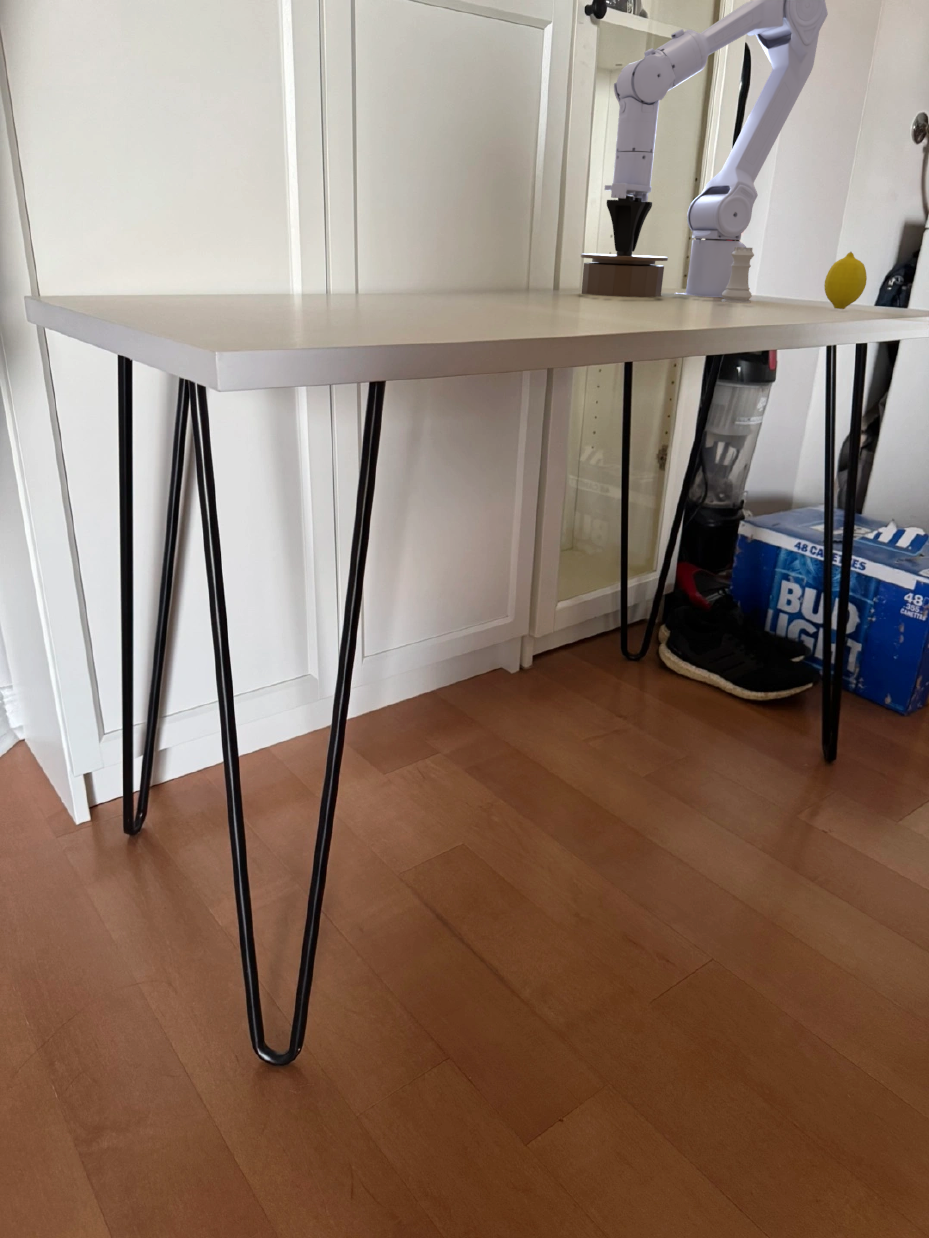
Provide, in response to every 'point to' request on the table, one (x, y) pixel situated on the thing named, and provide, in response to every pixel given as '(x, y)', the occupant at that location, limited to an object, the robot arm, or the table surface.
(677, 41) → the robot arm
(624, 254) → the tin lid
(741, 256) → the rook chess piece
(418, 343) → the table surface
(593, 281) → the tin
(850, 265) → the fruit
